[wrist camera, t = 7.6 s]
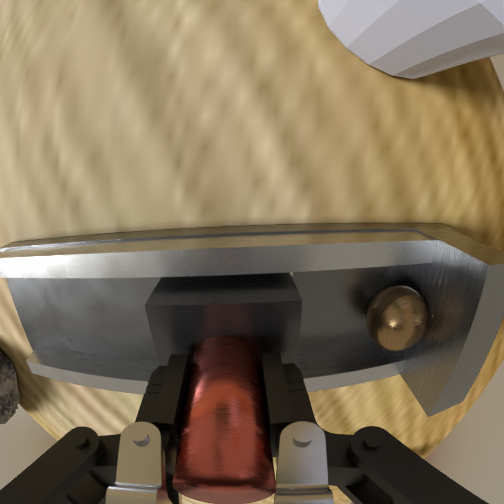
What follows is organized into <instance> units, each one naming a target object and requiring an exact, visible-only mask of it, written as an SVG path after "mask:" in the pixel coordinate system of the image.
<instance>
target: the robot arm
mask: <svg viewBox="0 0 504 504" xmlns="http://www.w3.org/2000/svg"><path fill="white" fill-rule="evenodd" d="M191 368H192V362H191V357H190V355H189V354H171V355H170V358H169V361H168V364H167V366H158V367H157V368H156V369H155V370H154V371H153V372H152V373H151V376H150V379H149V382H148V385H147V387H146V390H145V393H144V396H143V399H142V402H141V405H140V408H139V412H138V415H137V418H136V421H135V423H132V424H130V425H128V426H127V427H126V428H124V430H123V431H122V433H121V434H117V435H106V436H98V435H97V433H96V432H95V431H94V430H92V429H91V428H88V427H76V428H74V429H72V430H71V431H69V432H68V433H67V434H66V435H65V436H64V437H62V438H61V439H60V440H59V441H58V442H57V443H55V444H54V445H53V446H52V447H51V448H50V449H48V450H47V451H46V452H45V453H44V454H43V455H41V456H40V457H39V458H38V459H37V460H36V461H35V462H33V463H32V464H31V465H30V466H29V467H27V468H26V469H25V470H24V471H23V472H22V473H21V474H19V475H18V476H17V477H16V478H14V479H13V480H12V481H11V482H10V483H9V484H7V485H6V486H5V487H4V488H3V489H1V490H0V504H183V503H182V494H180V493H179V492H177V491H176V490H175V489H174V487H173V485H172V483H173V476H174V469H175V462H176V455H177V449H178V442H179V436H180V430H181V424H182V418H183V412H184V406H185V401H186V395H187V389H188V384H189V379H190V373H191ZM261 369H262V378H263V386H264V394H265V402H266V411H267V419H268V427H269V435H270V442H271V450H272V457H276V464H277V472H276V491H275V495H274V504H334V499H333V493H332V490H330V489H329V486H328V485H334V486H337V487H338V488H339V489H340V490H341V491H342V492H343V493H344V494H345V495H346V496H347V497H348V498H349V499H350V500H351V501H352V502H353V503H355V504H488V503H487V502H485V501H484V500H482V499H480V498H479V497H477V496H476V495H474V494H473V493H471V492H470V491H468V490H467V489H465V488H464V487H462V486H461V485H459V484H458V483H456V482H455V481H453V480H452V479H450V478H449V477H447V476H446V475H445V474H443V473H442V472H440V471H439V470H438V469H436V468H435V467H433V466H432V465H431V464H429V463H428V462H427V461H425V460H424V459H422V458H421V457H420V456H418V455H417V454H416V453H414V452H413V451H412V450H410V449H409V448H408V447H407V446H405V445H404V444H403V443H401V442H400V441H399V440H397V439H396V438H395V437H394V436H392V435H391V434H390V433H388V432H387V431H386V430H384V429H382V428H380V427H375V426H368V427H364V428H361V429H359V430H358V431H357V432H355V434H354V435H344V434H333V433H330V432H327V431H325V430H323V429H322V428H321V427H320V426H319V425H318V424H317V422H316V420H315V417H314V414H313V410H312V407H311V403H310V400H309V396H308V393H307V391H306V386H305V383H304V379H303V376H302V372H301V370H300V369H299V368H298V367H297V366H296V365H295V364H294V363H287V364H282V360H281V356H280V352H266V353H261Z"/></svg>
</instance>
